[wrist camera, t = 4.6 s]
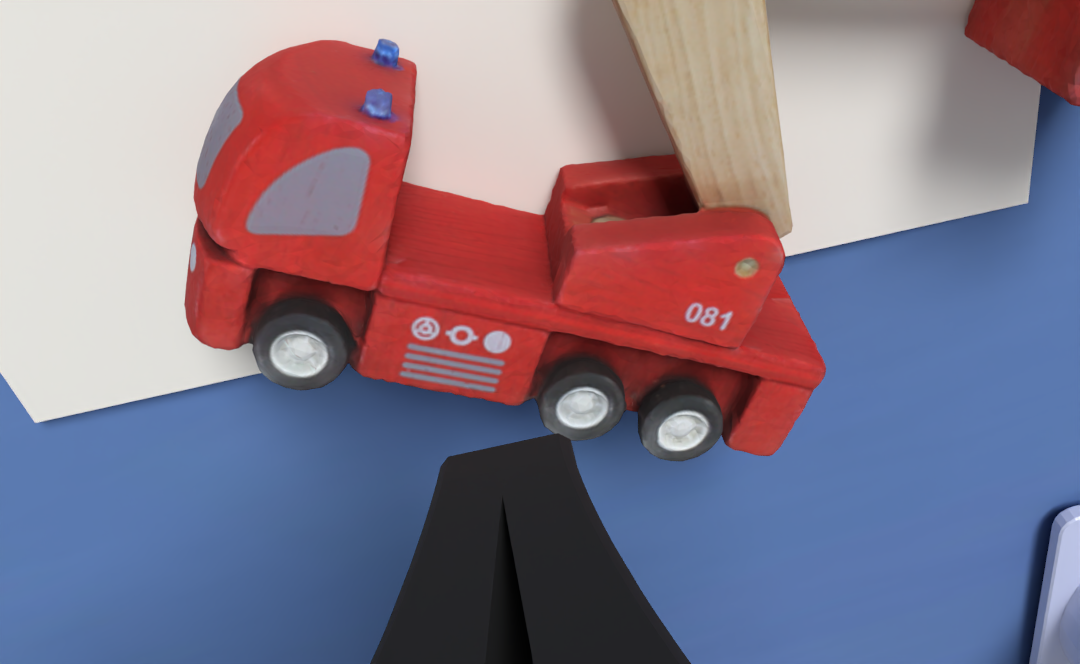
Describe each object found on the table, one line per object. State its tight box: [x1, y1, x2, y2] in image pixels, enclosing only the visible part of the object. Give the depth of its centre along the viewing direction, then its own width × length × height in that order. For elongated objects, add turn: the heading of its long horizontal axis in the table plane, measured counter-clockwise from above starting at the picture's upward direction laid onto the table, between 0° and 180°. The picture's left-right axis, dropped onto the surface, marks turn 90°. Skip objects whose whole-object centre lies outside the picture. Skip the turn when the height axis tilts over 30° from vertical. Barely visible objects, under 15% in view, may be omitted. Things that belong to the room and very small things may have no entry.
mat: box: [0, 0, 1041, 423], centre depth 15 cm, size 19×11×1 cm, turn 102°
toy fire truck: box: [184, 0, 1080, 461], centre depth 14 cm, size 3×14×10 cm
